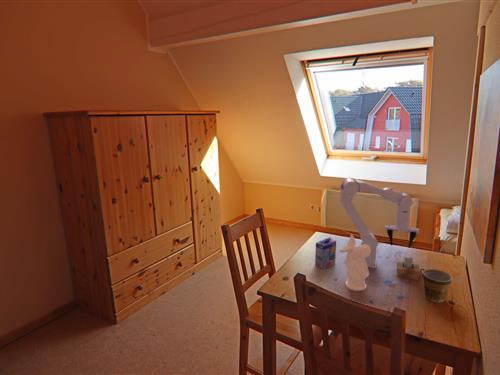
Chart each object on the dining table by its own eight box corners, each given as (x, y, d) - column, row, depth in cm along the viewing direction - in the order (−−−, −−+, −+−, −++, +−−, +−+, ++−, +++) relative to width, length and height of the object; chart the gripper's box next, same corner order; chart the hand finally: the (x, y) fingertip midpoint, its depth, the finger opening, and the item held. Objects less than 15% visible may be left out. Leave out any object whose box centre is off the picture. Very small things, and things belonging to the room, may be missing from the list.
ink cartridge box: (323, 269, 151) (324, 241, 148) (314, 265, 156) (314, 238, 152) (336, 263, 157) (337, 236, 154) (327, 259, 162) (327, 233, 158)
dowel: (403, 274, 145) (404, 258, 143) (403, 271, 147) (405, 255, 146) (411, 276, 143) (412, 259, 141) (411, 273, 146) (412, 257, 144)
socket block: (396, 276, 143) (397, 268, 142) (396, 267, 151) (397, 259, 150) (419, 280, 140) (419, 271, 139) (417, 270, 148) (418, 262, 147)
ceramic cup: (455, 302, 123) (458, 278, 121) (434, 307, 120) (437, 283, 118) (428, 285, 135) (430, 264, 133) (409, 289, 132) (411, 268, 130)
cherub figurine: (372, 291, 132) (375, 242, 127) (344, 295, 130) (347, 246, 125) (356, 277, 144) (359, 231, 138) (331, 280, 141) (333, 234, 136)
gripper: (385, 219, 148) (383, 246, 151) (420, 223, 142) (417, 251, 145) (385, 215, 154) (384, 241, 157) (419, 218, 148) (416, 245, 151)
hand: (400, 245), depth 152 cm, fingers open, 7 cm apart
